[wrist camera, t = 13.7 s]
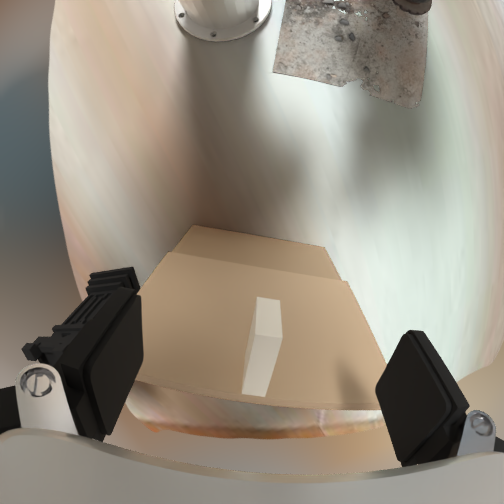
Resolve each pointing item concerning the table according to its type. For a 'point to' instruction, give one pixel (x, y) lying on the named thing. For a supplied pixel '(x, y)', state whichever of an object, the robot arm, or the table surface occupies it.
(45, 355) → the chess piece
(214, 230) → the carton
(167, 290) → the lid flap
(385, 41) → the valve
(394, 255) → the table surface
